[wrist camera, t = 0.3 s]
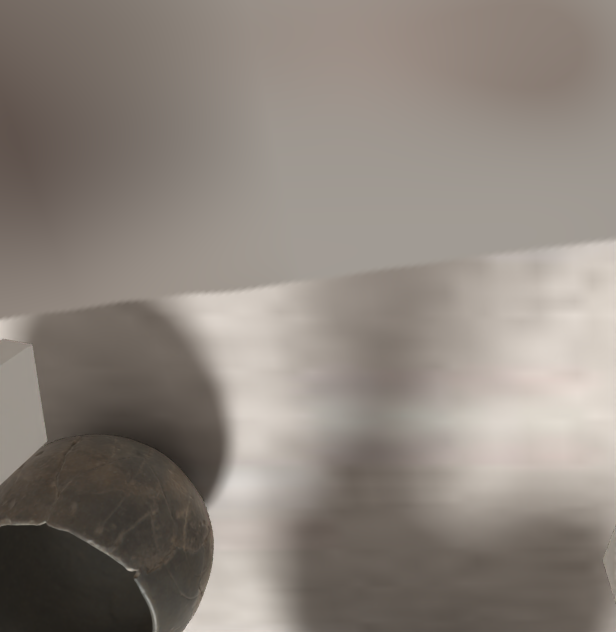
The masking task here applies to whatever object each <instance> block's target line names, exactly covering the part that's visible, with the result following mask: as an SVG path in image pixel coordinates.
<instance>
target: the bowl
mask: <svg viewBox="0 0 616 632" xmlns="http://www.w3.org/2000/svg"><path fill="white" fill-rule="evenodd" d="M213 550H214V539H213V531H212V526H211V522H210V519H209V515H208V512H207V509H206V506H205V504H204V501H203V499H202V497H201V496H200V494H199V492H198V491H197V490H196V488H195V487H194V485H193V484H192V483H191V481H190V480H189V478H188V477H187V476H186V475H185V474H184V472H183V471H182V470H181V469H180V468H179V467H178V466H177V465H176V464H175V463H173V461H172V460H171V459H169V458H168V457H167V456H166V455H164V454H163V453H161V452H159V451H158V450H156V449H154V448H152V447H150V446H148V445H146V444H143V443H141V442H138V441H135V440H132V439H128V438H124V437H120V436H113V435H103V434H90V435H82V436H74V437H70V438H64V439H60V440H57V441H55V442H52V443H49V444H47V445H45V446H43V447H41V448H39V449H38V450H37V451H36V452H35V453H34V454H33V455H32V456H31V457H30V458H29V459H28V460H27V461H26V462H24V463H23V464H22V465H21V466H20V467H19V468H18V469H17V470H16V471H15V472H14V473H13V474H12V475H11V476H9V477H8V478H7V479H6V480H5V481H4V482H3V483H2V484H1V485H0V632H182V631H183V630H184V629H185V627H186V626H187V624H188V623H189V621H190V620H191V618H192V617H193V616H194V614H195V612H196V610H197V609H198V606H199V604H200V601H201V599H202V597H203V594H204V591H205V589H206V585H207V583H208V580H209V576H210V572H211V568H212V562H213Z"/></svg>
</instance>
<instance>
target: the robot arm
mask: <svg viewBox="0 0 616 632" xmlns="http://www.w3.org/2000/svg"><path fill="white" fill-rule="evenodd" d="M46 442H47V435H46V429H45V422H44V416H43V410H42V403H41V397H40V390H39V384H38V377H37V371H36V365H35V358H34V352H33V345H32V344H29V343H23V342H18V341H12V340H7V339H2V340H1V341H0V485H1V484H2V483H3V482H4V481H5V480H6V479H7V478H8V477H9V476H11V475H12V474H13V473H14V472H15V471H16V470H17V469H18V468H19V467H20V466H21V465H22V464H23V463H24V462H26V461H27V460H28V459H29V458H30V457H31V456H32V455H33V454H34V453H35V452H36V451H37V450H38V449H39V448H41V447H42V446H43V445H44V444H45V443H46ZM603 563H604V567H605V570H606V573H607V576H608V580H609V583H610V586H611V589H612V593H613V596H614V599H615V602H616V526H615V529H614V531H613V534H612V537H611V539H610V542H609V544H608V547H607V549H606V552H605V555H604V557H603Z"/></svg>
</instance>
